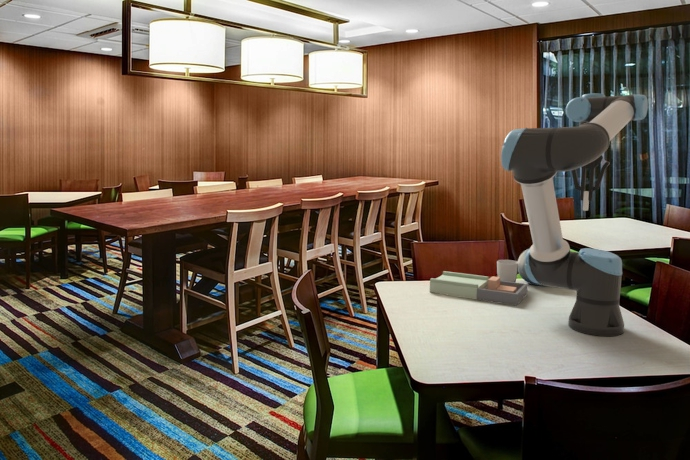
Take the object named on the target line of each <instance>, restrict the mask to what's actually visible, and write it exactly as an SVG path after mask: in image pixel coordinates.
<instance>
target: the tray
mask: <svg viewBox="0 0 690 460" xmlns="http://www.w3.org/2000/svg"><path fill="white" fill-rule="evenodd" d="M500 285H502V286H510V287H517V292H516V293H510V292H502V291H495V290H488V285H486V286H485V287H484V288H483V289H480V288H478V289H477V299H476V300H478V301H483V302H490V303H497V304H503V305H509V306H510V305H511V306H518V305H519V303H521V301H523V299H524V298H525V297H526V296H527V295H528V283H524V282H523V283H522V282H517V281H516V282H508V281H500Z"/></svg>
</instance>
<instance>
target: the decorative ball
mask: <svg viewBox="0 0 690 460" xmlns="http://www.w3.org/2000/svg"><path fill="white" fill-rule="evenodd" d="M529 249H530V247H529V248H527V249H526V250H523V251H522V252H521V253H520V255H519V257H518V259H517V262H519V265H518V275H519V276H520V278H521V279H522V280H524V281H525V282H526V283H527V284H530V285H534V286H540V284H537V283H534V282H532V281H531V280H530V279H529V278H528V276H527V274H526V271H525V264H526V262H525V257H526V254H527V252H528V250H529Z"/></svg>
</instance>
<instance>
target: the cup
mask: <svg viewBox="0 0 690 460" xmlns="http://www.w3.org/2000/svg"><path fill="white" fill-rule="evenodd" d="M518 265H519V262H518V260H512V259H498V260H496V274H497V277H500V281H508V282H516V283H517V279H518V278H517V277H518V275H519V272H518Z"/></svg>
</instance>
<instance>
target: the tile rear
mask: <svg viewBox="0 0 690 460" xmlns="http://www.w3.org/2000/svg"><path fill="white" fill-rule="evenodd" d="M499 286H500V277H498V276H495V275H494V276H490V277H489V279H488V290H495V291H496V289H497V288H498V287H499Z"/></svg>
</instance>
